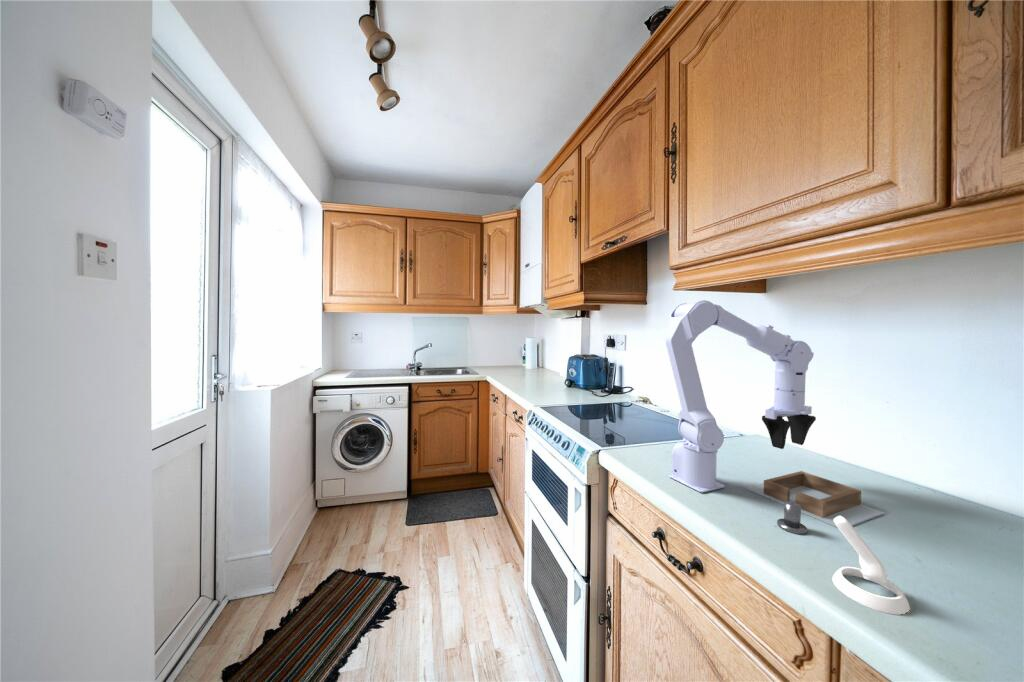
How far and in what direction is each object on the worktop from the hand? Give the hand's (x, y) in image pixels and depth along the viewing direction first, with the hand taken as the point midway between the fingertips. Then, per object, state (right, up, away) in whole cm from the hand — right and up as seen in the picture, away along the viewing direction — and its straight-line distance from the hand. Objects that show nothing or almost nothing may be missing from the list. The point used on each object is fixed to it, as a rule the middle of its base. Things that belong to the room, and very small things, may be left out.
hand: (787, 445), depth 83 cm
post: (-14, -10, -18) cm, 25 cm away
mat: (-2, -10, -8) cm, 13 cm away
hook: (-16, -11, -34) cm, 39 cm away
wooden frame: (-1, -9, -8) cm, 12 cm away
